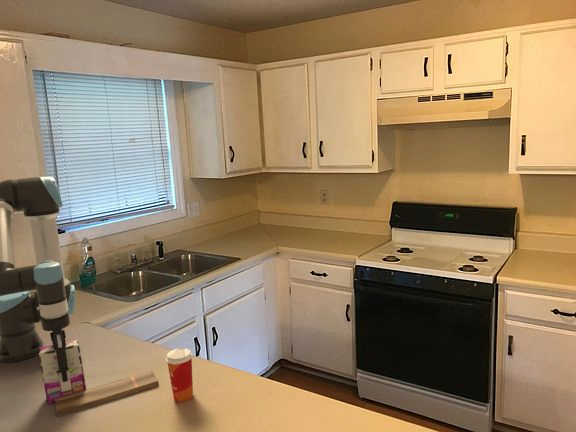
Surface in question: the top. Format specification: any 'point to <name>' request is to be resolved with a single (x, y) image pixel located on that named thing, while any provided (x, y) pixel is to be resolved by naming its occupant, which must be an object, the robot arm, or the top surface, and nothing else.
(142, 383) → the walnut board
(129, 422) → the top surface
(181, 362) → the paper cup
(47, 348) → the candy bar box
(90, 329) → the top surface
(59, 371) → the robot arm
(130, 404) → the top surface
